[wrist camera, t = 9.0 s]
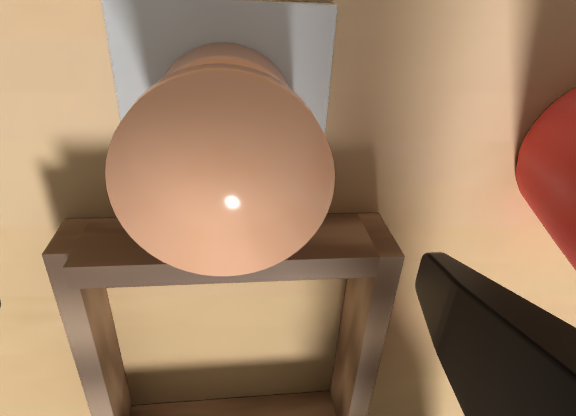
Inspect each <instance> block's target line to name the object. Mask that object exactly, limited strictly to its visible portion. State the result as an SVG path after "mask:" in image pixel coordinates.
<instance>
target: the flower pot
mask: <svg viewBox="0 0 576 416" xmlns="http://www.w3.org/2000/svg"><path fill="white" fill-rule="evenodd" d="M516 180H517V184H518V187H519V190H520V192H521V194H522V196H523V197H524V199H525V200H526V202H527V203H528V204H529V206H530V207H531V209H532V210H533V212H534V213H535V214H536V216H537V217H538V219H539V220H540V221H541V223H542V224H543V226H544V227H545V229H546V230H547V231H548V233H549V234H550V236H551V237H552V239H553V240H554V241H555V243H556V244H557V246H558V247H559V248H560V250H561V251H562V253H563V254H564V255H565V257H566V258H567V259H568V261H569V262H570V263H571V265H572V266H573V267H574V269H575V270H576V88H574V89H573V90H571V91H569V92H567V93H566V94H564V95H563V96H561V97H560V98H559V99H557V100H556V101H555V102H554V103H553V104H551V105H550V106H549V107H548V108H547V109H546V110H545V111H544V112H543V113H542V114H541V115H540V117H539V118H538V119H537V120H536V121H535V123H534V124H533V125H532V127H531V128H530V130H529V131H528V133H527V135H526V137H525V138H524V140H523V143H522V145H521V148H520V151H519V154H518V163H517V166H516Z"/></svg>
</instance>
